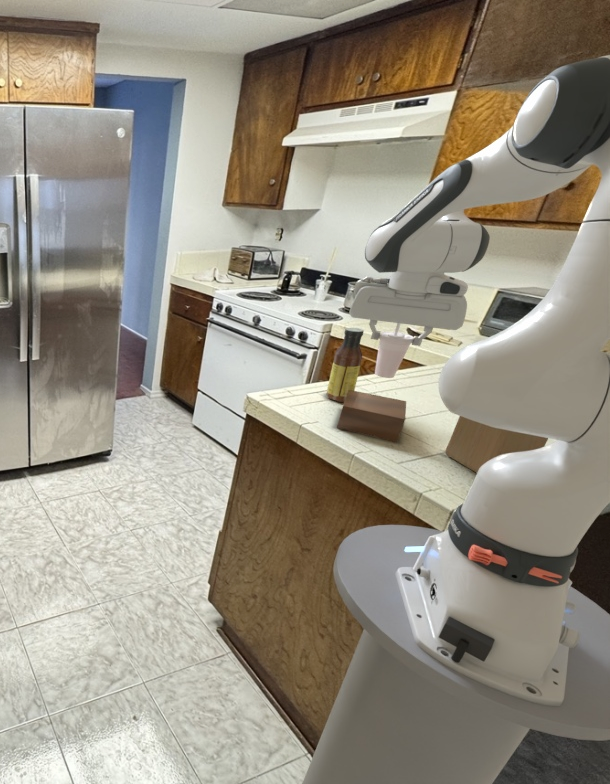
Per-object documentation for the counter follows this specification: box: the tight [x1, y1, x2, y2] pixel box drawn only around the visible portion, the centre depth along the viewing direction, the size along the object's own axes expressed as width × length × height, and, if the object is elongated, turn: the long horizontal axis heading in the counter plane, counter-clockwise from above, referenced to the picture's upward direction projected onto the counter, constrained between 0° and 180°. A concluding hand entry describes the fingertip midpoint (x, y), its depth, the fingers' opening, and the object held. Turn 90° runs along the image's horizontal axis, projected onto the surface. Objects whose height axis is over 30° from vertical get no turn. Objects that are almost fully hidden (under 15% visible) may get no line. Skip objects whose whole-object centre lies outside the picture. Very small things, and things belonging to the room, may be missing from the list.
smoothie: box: [374, 323, 414, 379], centre depth 107 cm, size 6×6×14 cm
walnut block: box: [336, 390, 407, 443], centre depth 114 cm, size 12×12×6 cm
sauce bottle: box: [326, 327, 365, 403], centre depth 126 cm, size 6×6×20 cm
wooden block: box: [445, 416, 549, 474], centre depth 95 cm, size 10×10×20 cm
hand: (395, 341), depth 107 cm, fingers closed on smoothie, 6 cm apart
